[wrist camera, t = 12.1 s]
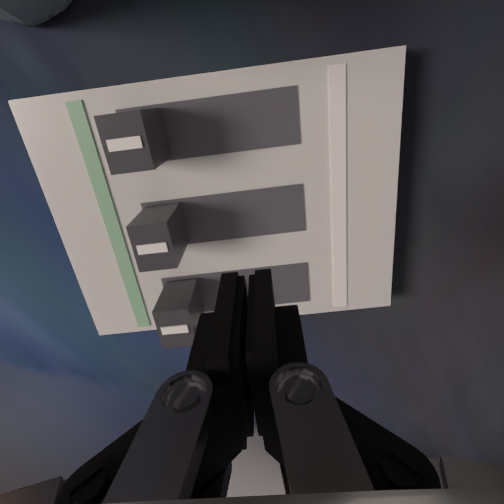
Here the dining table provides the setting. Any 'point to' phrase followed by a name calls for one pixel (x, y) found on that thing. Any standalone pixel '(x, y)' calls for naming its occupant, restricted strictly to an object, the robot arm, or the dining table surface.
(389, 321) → the dining table surface
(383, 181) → the panel
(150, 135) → the block
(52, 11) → the moka pot
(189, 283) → the breaker
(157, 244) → the block
